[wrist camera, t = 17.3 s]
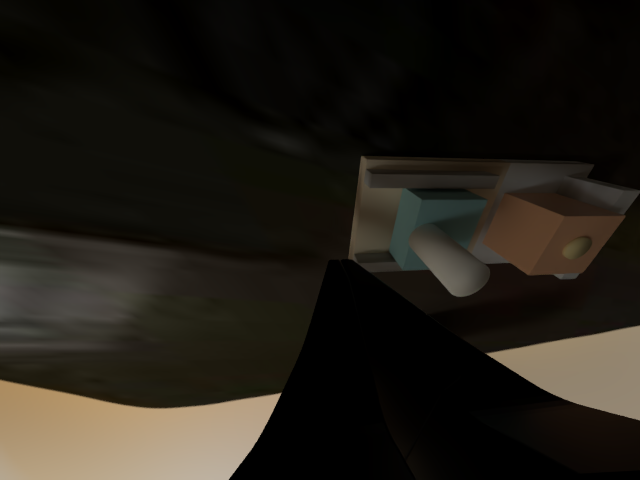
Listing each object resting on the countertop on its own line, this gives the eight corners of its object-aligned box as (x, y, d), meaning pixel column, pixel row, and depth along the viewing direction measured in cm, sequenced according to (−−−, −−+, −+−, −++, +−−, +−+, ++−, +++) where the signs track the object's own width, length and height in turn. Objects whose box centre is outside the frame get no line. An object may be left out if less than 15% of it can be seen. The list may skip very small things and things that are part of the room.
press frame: (361, 155, 18) (387, 172, 14) (575, 161, 21) (660, 176, 16) (348, 259, 23) (363, 298, 18) (522, 253, 26) (575, 286, 21)
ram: (400, 186, 18) (469, 234, 11) (460, 187, 19) (559, 232, 12) (386, 250, 21) (434, 319, 14) (438, 249, 22) (508, 314, 15)
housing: (504, 192, 20) (569, 218, 15) (554, 193, 20) (631, 217, 16) (482, 242, 22) (532, 277, 18) (527, 241, 23) (587, 275, 18)
